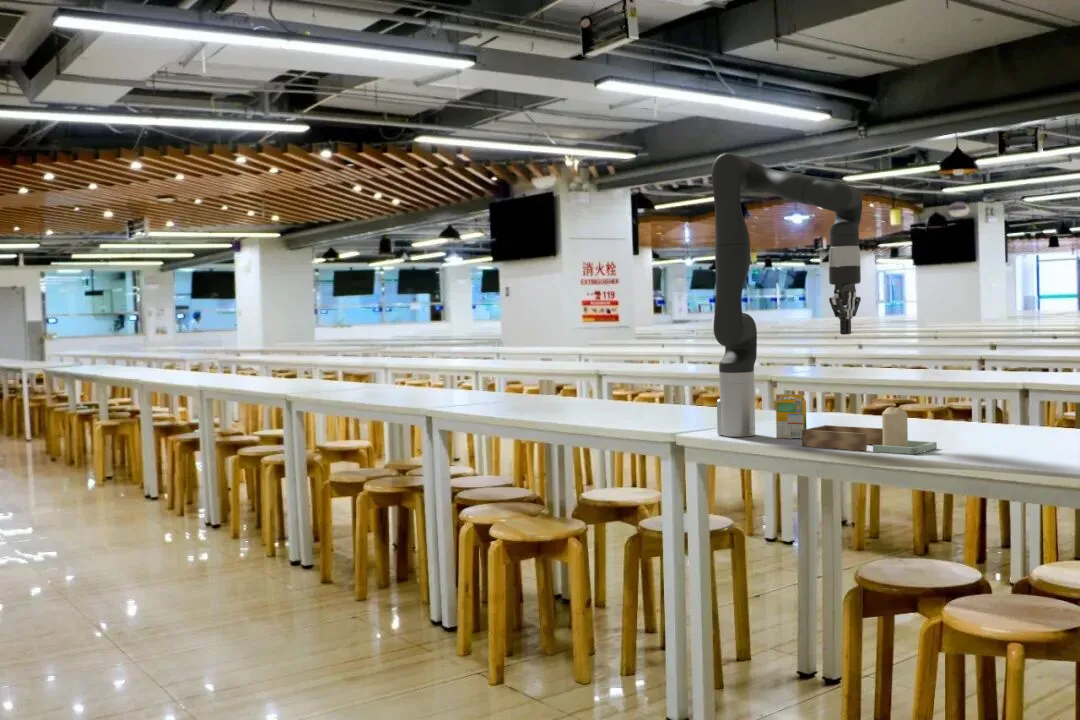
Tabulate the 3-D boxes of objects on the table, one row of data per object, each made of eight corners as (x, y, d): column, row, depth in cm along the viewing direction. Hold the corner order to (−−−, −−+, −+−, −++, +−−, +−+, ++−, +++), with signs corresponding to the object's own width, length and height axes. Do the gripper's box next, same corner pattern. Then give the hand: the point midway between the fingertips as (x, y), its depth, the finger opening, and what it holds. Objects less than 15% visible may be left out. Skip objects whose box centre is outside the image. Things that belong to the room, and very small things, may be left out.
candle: (912, 449, 225) (912, 406, 225) (896, 451, 223) (895, 408, 222) (894, 447, 230) (893, 405, 230) (877, 449, 227) (877, 407, 227)
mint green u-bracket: (873, 451, 224) (872, 445, 223) (894, 445, 232) (894, 439, 232) (915, 454, 217) (915, 448, 217) (936, 448, 225) (936, 442, 225)
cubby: (802, 446, 236) (801, 430, 236) (825, 440, 245) (825, 425, 244) (864, 451, 225) (864, 434, 225) (886, 445, 234) (886, 428, 233)
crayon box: (807, 437, 252) (806, 393, 251) (804, 439, 249) (803, 394, 249) (779, 437, 255) (778, 393, 255) (776, 438, 253) (775, 394, 252)
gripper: (842, 266, 248) (843, 333, 249) (818, 265, 238) (819, 335, 239) (870, 264, 243) (871, 333, 244) (846, 263, 233) (847, 335, 234)
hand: (845, 334), depth 241 cm, fingers closed
